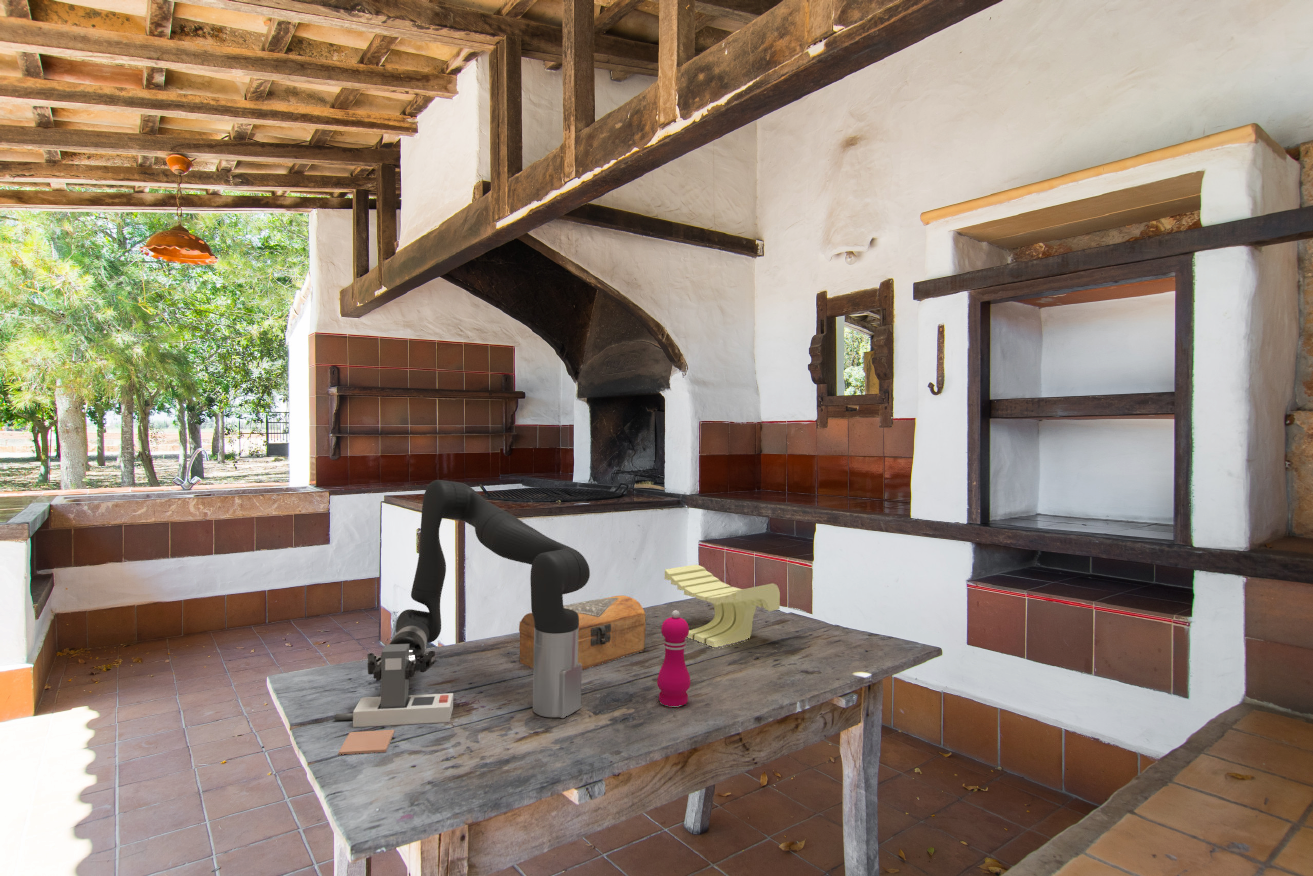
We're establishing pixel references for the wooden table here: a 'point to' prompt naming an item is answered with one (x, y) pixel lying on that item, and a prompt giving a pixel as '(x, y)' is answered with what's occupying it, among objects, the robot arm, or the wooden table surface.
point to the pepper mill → (674, 662)
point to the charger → (394, 676)
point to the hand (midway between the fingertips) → (392, 675)
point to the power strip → (401, 711)
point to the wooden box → (597, 630)
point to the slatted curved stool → (723, 604)
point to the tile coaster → (367, 742)
